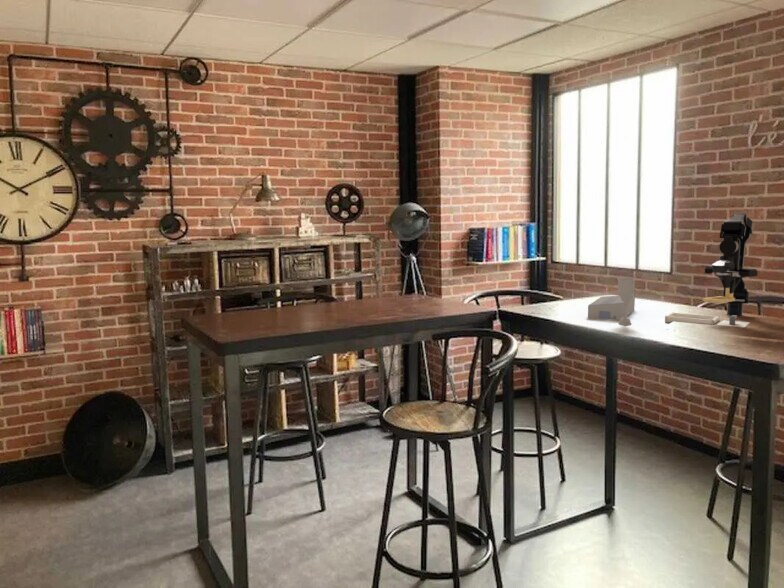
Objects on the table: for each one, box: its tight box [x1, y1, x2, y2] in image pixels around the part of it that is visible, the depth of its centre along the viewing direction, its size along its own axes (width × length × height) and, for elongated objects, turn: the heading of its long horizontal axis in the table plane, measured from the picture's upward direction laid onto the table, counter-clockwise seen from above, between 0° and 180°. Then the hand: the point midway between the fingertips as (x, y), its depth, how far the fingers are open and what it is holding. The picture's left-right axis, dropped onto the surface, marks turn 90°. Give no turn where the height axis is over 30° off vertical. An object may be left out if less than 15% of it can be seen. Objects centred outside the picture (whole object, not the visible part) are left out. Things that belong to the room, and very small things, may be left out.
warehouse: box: [587, 293, 636, 321], centre depth 282 cm, size 30×14×8 cm, turn 152°
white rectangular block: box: [716, 315, 751, 328], centre depth 251 cm, size 13×10×4 cm
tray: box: [664, 312, 720, 325], centre depth 260 cm, size 11×18×2 cm, turn 53°
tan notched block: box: [702, 287, 736, 304], centre depth 252 cm, size 6×12×5 cm, turn 119°
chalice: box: [616, 277, 637, 326], centre depth 257 cm, size 7×7×18 cm
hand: (728, 293), depth 254 cm, fingers closed on tan notched block
